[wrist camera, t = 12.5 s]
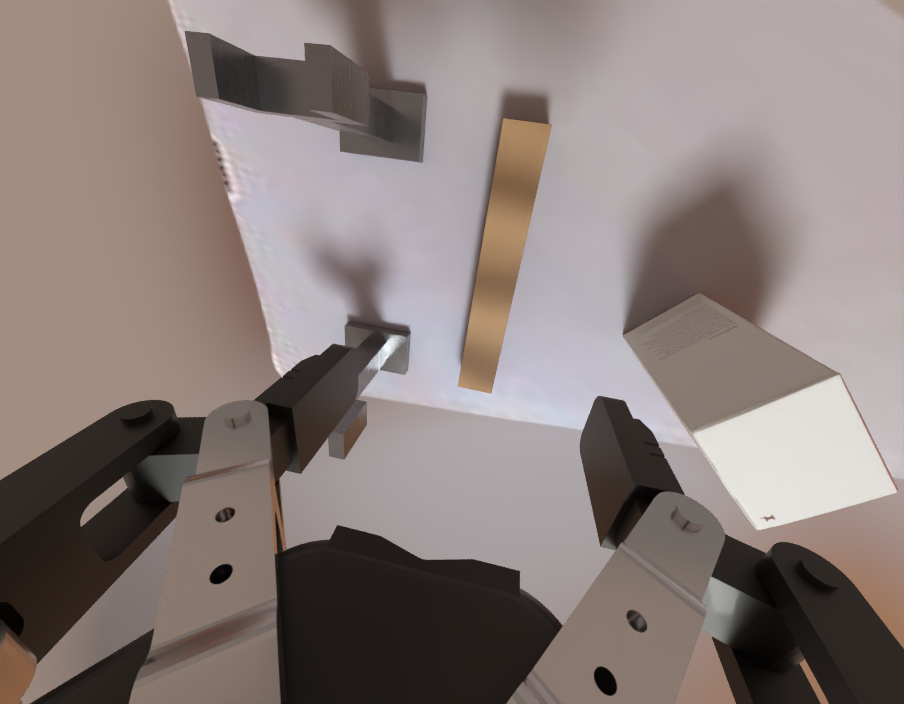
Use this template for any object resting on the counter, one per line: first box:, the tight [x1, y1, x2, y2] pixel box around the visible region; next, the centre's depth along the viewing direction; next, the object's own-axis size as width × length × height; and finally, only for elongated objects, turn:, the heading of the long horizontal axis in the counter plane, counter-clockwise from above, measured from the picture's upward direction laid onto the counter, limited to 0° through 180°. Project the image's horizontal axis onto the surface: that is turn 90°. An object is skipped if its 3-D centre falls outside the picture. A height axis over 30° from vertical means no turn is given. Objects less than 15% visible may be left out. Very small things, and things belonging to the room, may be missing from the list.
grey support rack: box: [185, 31, 427, 459], centre depth 23 cm, size 22×6×14 cm, turn 173°
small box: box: [623, 293, 898, 530], centre depth 22 cm, size 8×6×13 cm
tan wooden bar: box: [458, 118, 552, 393], centre depth 27 cm, size 20×3×3 cm, turn 172°
